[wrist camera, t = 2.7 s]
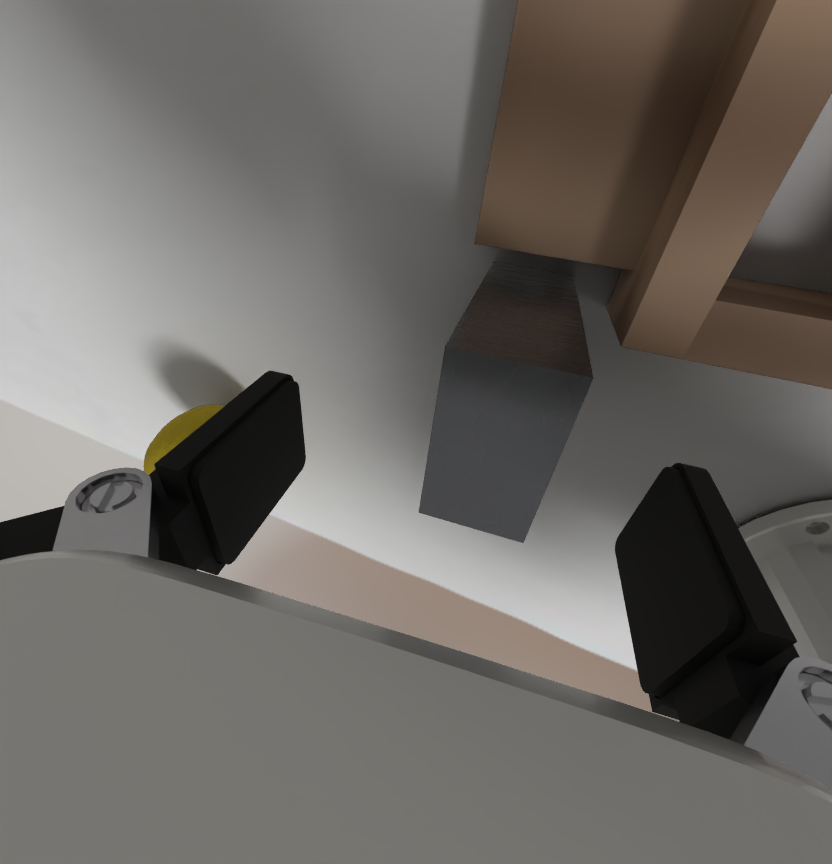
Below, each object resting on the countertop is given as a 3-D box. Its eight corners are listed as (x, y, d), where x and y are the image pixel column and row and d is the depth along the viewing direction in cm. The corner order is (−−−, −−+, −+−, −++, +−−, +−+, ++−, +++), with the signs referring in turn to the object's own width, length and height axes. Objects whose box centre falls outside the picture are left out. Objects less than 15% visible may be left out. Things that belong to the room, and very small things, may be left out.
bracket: (534, 394, 20) (523, 543, 12) (468, 379, 21) (418, 512, 13) (573, 276, 17) (593, 377, 9) (493, 262, 17) (445, 345, 9)
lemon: (198, 398, 28) (93, 469, 21) (247, 372, 25) (145, 444, 19) (247, 458, 30) (165, 538, 23) (298, 440, 27) (221, 525, 21)
